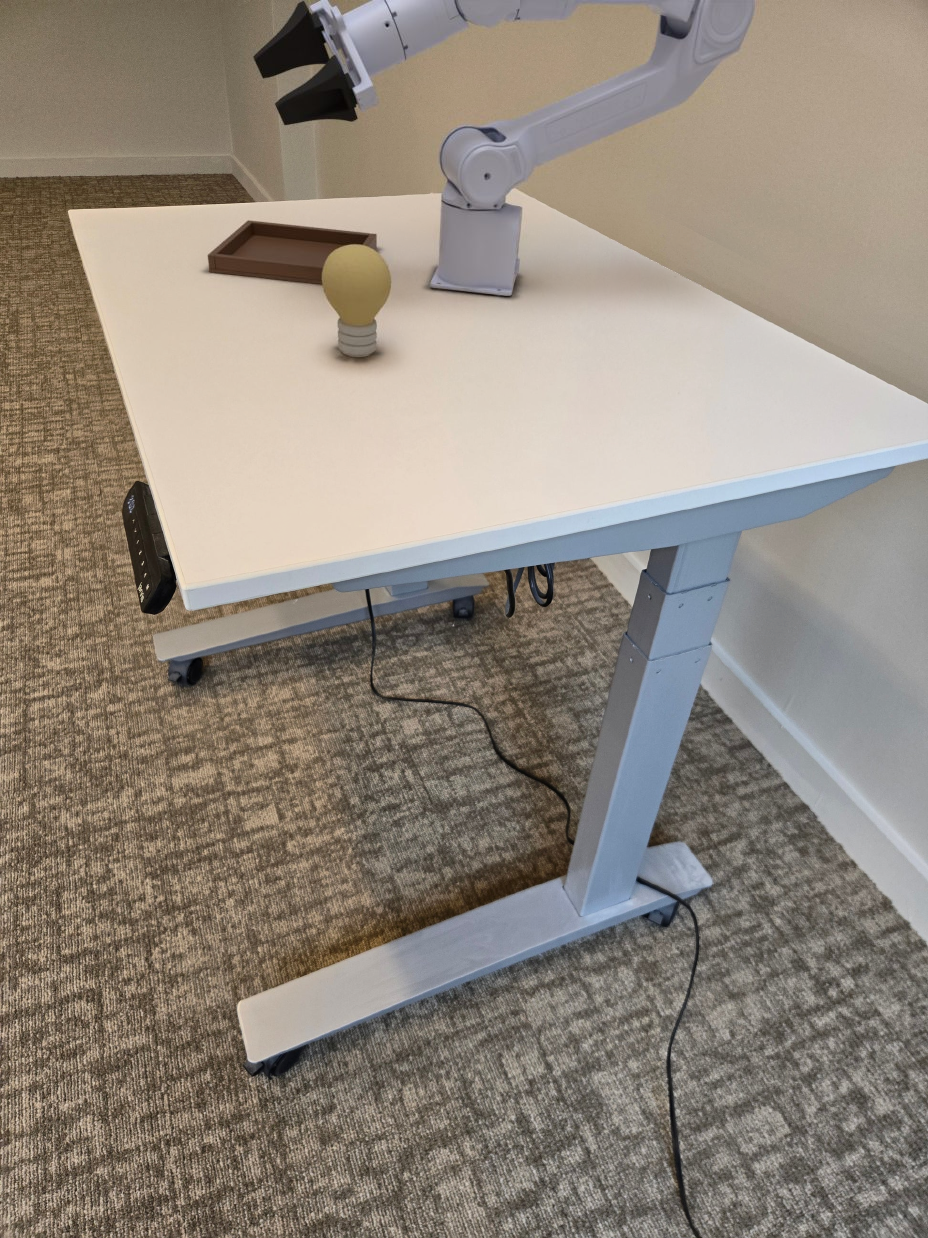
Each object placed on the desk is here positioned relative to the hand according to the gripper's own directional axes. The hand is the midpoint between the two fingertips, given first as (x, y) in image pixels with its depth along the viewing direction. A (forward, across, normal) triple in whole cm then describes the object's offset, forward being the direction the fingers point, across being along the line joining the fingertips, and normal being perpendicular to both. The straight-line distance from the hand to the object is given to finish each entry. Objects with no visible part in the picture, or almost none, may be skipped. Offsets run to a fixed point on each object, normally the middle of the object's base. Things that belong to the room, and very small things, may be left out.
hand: (268, 90), depth 86 cm
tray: (+5, 0, +20) cm, 21 cm away
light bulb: (+3, +26, +10) cm, 28 cm away
